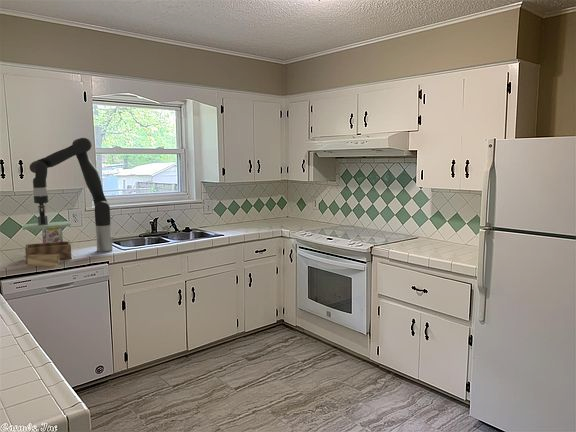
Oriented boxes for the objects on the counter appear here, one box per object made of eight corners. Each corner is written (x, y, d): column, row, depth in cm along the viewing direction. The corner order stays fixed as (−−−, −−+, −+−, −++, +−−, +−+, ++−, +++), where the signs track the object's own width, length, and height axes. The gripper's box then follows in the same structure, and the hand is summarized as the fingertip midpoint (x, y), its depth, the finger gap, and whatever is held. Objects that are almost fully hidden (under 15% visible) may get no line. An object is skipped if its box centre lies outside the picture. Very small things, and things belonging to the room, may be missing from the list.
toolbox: (70, 254, 287) (69, 241, 286) (71, 259, 275) (70, 244, 274) (26, 258, 276) (25, 244, 274) (26, 263, 263) (25, 248, 262)
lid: (69, 223, 285) (68, 213, 284) (70, 226, 272) (69, 216, 271) (23, 226, 273) (22, 216, 272) (22, 229, 260) (21, 219, 259)
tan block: (31, 264, 261) (30, 254, 260) (59, 264, 263) (59, 254, 262) (27, 266, 257) (27, 256, 257) (56, 266, 259) (56, 255, 258)
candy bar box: (46, 253, 292) (44, 228, 290) (43, 252, 296) (41, 227, 293) (63, 250, 301) (62, 226, 299) (60, 249, 304) (58, 225, 302)
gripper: (33, 194, 273) (35, 222, 275) (33, 196, 261) (35, 225, 263) (47, 193, 277) (49, 221, 279) (48, 195, 265) (50, 224, 267)
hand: (43, 223), depth 271 cm, fingers closed on lid, 2 cm apart
